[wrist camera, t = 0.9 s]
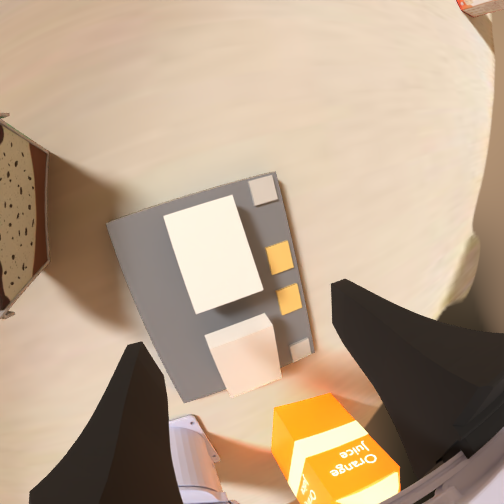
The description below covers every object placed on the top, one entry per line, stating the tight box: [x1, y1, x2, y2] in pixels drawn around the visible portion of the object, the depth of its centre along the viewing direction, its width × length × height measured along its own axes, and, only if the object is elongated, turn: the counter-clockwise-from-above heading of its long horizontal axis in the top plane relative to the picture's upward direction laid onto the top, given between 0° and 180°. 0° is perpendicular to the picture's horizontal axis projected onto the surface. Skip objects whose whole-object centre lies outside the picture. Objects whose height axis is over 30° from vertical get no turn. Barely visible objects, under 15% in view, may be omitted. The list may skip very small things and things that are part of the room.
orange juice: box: [271, 393, 400, 504], centre depth 23 cm, size 8×9×20 cm
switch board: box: [106, 172, 315, 403], centre depth 24 cm, size 18×14×3 cm
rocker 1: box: [163, 195, 263, 314], centre depth 21 cm, size 7×5×2 cm
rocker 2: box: [205, 313, 282, 398], centre depth 23 cm, size 7×5×2 cm
